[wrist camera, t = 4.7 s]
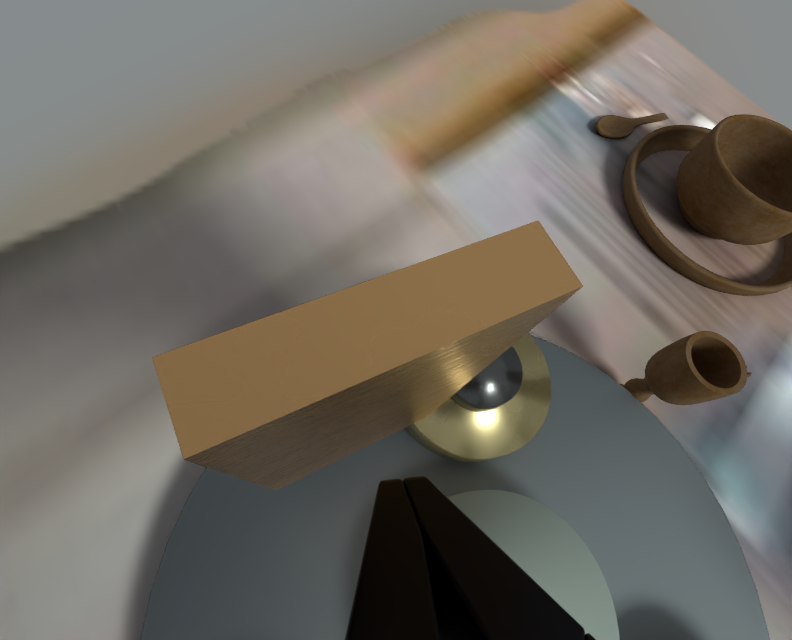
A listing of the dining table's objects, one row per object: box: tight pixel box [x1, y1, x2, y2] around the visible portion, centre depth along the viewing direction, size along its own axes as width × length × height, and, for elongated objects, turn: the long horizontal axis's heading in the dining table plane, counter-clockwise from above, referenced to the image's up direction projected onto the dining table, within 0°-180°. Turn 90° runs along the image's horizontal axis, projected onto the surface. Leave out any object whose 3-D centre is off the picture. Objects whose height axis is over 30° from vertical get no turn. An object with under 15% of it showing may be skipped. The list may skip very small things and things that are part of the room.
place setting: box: [595, 113, 792, 405], centre depth 23 cm, size 18×20×6 cm
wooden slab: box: [152, 221, 583, 491], centre depth 12 cm, size 11×6×12 cm, turn 116°
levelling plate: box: [141, 336, 770, 640], centre depth 14 cm, size 22×22×3 cm
